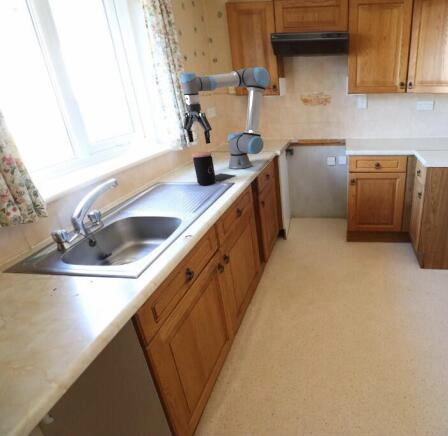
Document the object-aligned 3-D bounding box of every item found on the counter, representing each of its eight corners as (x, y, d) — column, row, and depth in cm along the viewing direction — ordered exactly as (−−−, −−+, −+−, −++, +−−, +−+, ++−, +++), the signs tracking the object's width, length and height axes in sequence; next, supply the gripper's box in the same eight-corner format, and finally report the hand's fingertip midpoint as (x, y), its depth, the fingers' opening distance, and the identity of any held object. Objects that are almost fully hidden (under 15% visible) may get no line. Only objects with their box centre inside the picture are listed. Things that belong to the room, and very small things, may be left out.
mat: (220, 173, 213) (220, 173, 213) (235, 175, 207) (235, 175, 206) (205, 179, 203) (205, 178, 202) (221, 181, 196) (220, 181, 196)
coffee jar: (213, 185, 189) (208, 155, 182) (195, 186, 190) (189, 156, 182) (218, 180, 199) (213, 151, 192) (201, 180, 199) (196, 151, 192)
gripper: (172, 104, 179) (179, 142, 187) (203, 104, 167) (210, 145, 176) (183, 103, 185) (190, 140, 193) (214, 103, 173) (220, 142, 182)
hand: (199, 142), depth 184 cm, fingers open, 13 cm apart
